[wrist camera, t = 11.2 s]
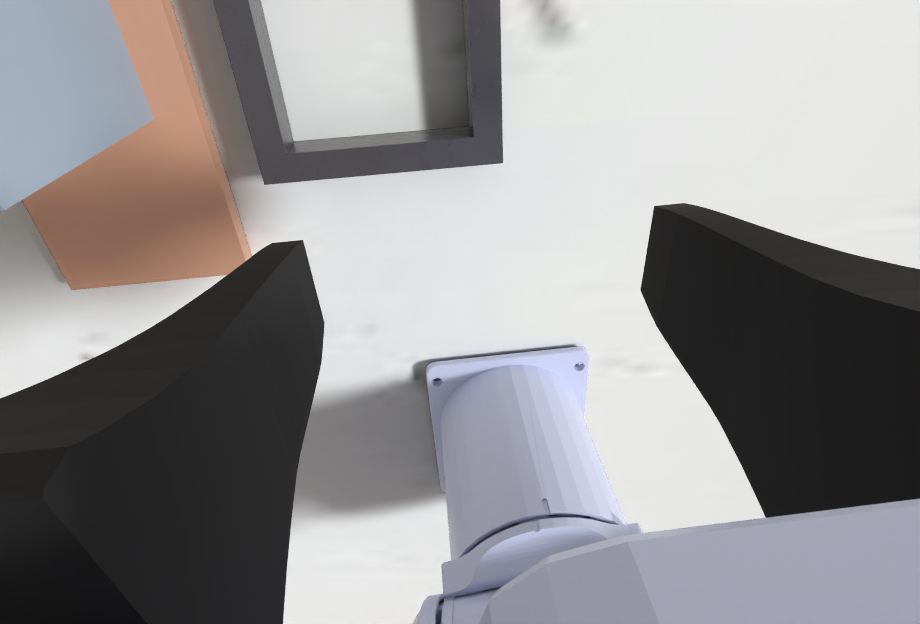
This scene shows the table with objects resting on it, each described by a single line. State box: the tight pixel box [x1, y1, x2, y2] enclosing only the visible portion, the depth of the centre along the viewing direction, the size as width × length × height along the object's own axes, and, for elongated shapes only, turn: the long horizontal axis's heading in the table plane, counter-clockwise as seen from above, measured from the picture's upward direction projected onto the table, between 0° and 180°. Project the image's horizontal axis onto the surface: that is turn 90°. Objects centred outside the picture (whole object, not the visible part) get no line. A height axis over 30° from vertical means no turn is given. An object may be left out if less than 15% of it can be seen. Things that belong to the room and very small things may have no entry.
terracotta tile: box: [22, 0, 252, 290], centre depth 17 cm, size 16×7×1 cm, turn 3°
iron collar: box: [213, 0, 503, 185], centre depth 17 cm, size 8×8×2 cm
